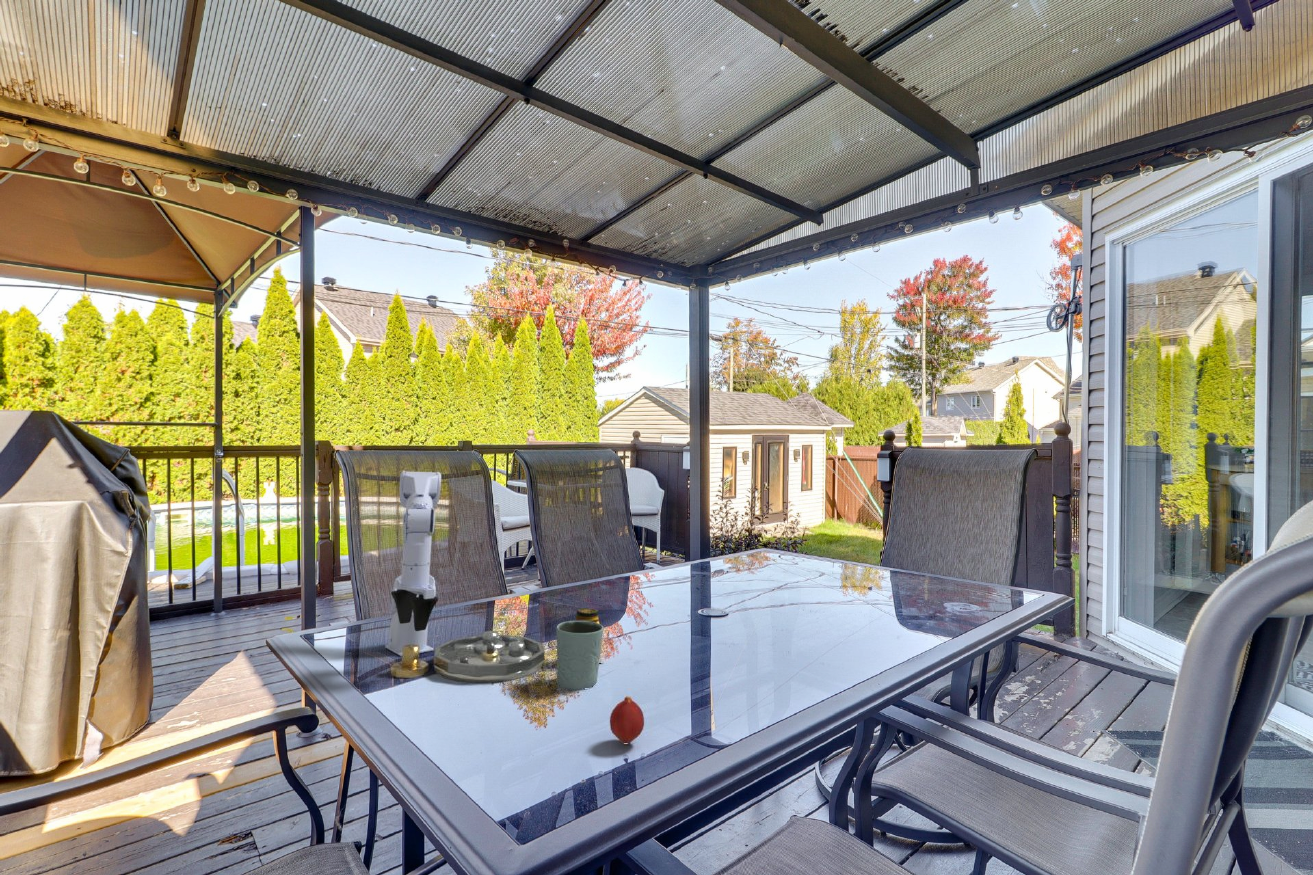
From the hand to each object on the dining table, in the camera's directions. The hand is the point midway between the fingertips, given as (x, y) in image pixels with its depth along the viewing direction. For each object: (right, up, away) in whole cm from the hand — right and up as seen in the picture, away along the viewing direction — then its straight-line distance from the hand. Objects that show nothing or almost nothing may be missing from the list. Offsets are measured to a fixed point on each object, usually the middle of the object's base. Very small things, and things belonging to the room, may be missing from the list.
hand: (412, 626), depth 136 cm
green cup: (+36, -12, -3) cm, 38 cm away
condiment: (+35, -12, +12) cm, 39 cm away
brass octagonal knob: (0, -10, -1) cm, 10 cm away
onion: (+48, -11, -31) cm, 58 cm away
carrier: (+15, -11, +7) cm, 20 cm away
